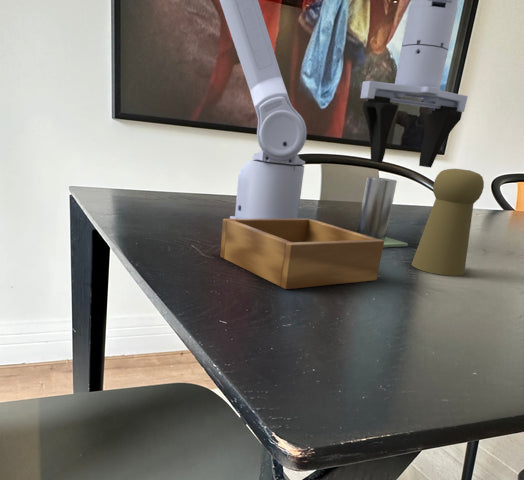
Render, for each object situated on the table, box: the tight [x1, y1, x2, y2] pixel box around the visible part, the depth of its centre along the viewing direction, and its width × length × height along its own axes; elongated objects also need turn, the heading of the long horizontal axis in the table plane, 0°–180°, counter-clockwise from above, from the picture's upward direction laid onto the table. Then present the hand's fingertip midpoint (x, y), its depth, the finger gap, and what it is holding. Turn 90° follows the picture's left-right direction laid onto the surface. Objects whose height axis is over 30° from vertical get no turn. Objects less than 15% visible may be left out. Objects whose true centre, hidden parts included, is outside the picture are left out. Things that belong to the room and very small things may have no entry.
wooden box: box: [219, 217, 384, 290], centre depth 50 cm, size 12×12×4 cm
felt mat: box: [383, 236, 409, 249], centre depth 70 cm, size 8×8×1 cm
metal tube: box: [356, 176, 398, 241], centre depth 68 cm, size 4×4×8 cm
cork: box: [411, 168, 485, 277], centre depth 56 cm, size 6×6×11 cm
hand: (401, 164), depth 68 cm, fingers open, 7 cm apart
